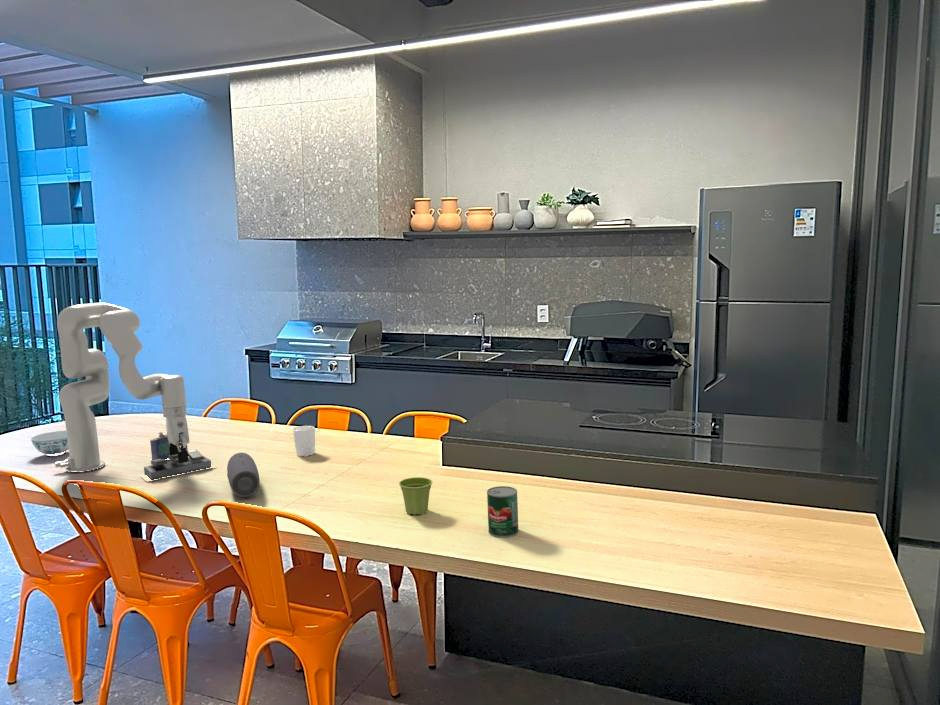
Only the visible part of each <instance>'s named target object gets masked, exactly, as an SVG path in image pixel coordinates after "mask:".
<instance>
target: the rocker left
mask: <svg viewBox="0 0 940 705" xmlns="http://www.w3.org/2000/svg"><path fill="white" fill-rule="evenodd" d="M168 462H169V461H168V460H165V459H158V460H153V461H152V460H151V461H150V464H151V465H156V466H157V465H162V464H167V463H168ZM151 465H150V466H151Z"/></svg>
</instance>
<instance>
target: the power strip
mask: <svg viewBox="0 0 940 705" xmlns="http://www.w3.org/2000/svg"><path fill="white" fill-rule="evenodd" d="M188 460H189V461H188V462H185V463H178V464H174V463H173V462H172V461H171V460H169V461H167V462H168V463H167V464H162V465H157V466H156V465H148V466H143V472H144V473H143V474H145V475H147V476H148V477H149V478H150V479H151V480H154V479H159V478H162V477H167V476H172V475H177V474H182V473H187V472H191V471H196V470H200V469H206V468H210V467H211V464H212V460H211V459H210V458H208V457H206V456H204V455H203V459H202V460H197V461H192V460H191V459H190V458H189V457H188Z"/></svg>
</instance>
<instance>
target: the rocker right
mask: <svg viewBox="0 0 940 705" xmlns="http://www.w3.org/2000/svg"><path fill="white" fill-rule="evenodd" d="M203 456H204V455H203V454H202V453H201V452H200V451H199V450H198V449H191V450H188V458H190V459H191V460H192V461H197V460H202V459H203Z"/></svg>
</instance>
